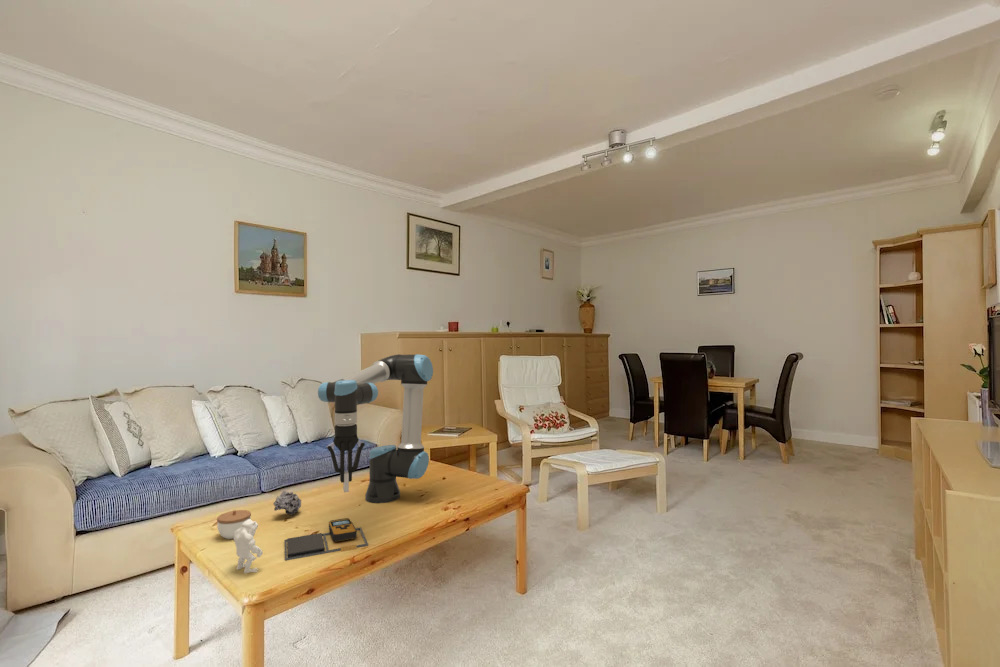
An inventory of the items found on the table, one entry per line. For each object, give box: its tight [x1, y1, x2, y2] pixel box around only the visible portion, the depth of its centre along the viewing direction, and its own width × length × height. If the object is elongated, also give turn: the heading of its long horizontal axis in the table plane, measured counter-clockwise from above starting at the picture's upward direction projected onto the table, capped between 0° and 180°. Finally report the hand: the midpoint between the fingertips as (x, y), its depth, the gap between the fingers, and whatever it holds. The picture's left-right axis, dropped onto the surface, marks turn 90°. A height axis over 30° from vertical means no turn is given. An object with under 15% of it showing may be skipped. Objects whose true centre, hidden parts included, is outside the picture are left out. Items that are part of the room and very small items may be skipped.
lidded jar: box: [216, 509, 252, 540], centre depth 173 cm, size 11×11×9 cm
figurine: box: [233, 519, 263, 574], centre depth 147 cm, size 11×7×15 cm, turn 56°
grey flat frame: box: [284, 527, 369, 562], centre depth 165 cm, size 17×26×2 cm, turn 115°
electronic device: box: [328, 517, 358, 543], centre depth 173 cm, size 8×16×3 cm, turn 26°
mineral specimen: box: [273, 490, 302, 516], centre depth 192 cm, size 12×9×10 cm
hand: (346, 490), depth 168 cm, fingers closed
